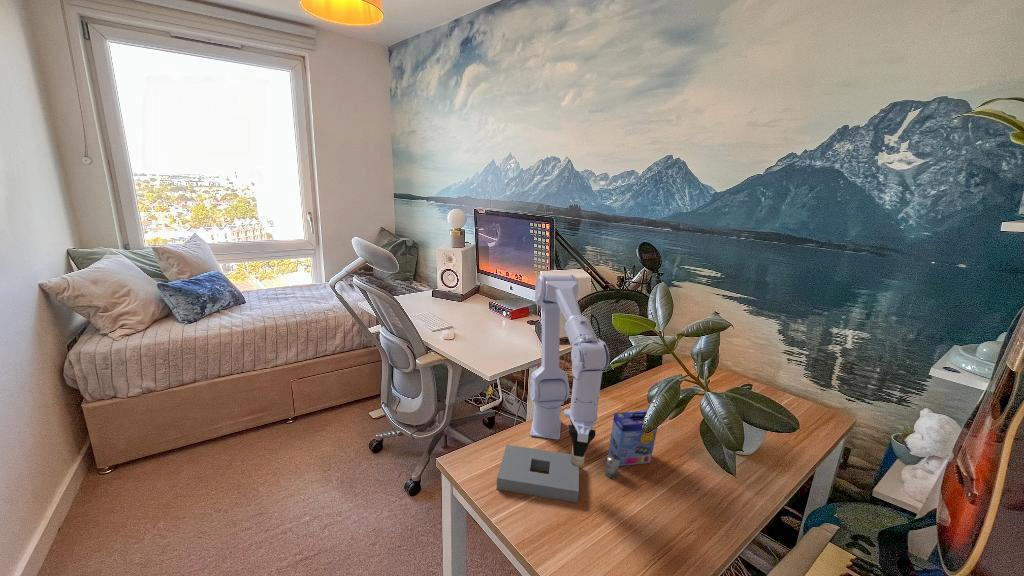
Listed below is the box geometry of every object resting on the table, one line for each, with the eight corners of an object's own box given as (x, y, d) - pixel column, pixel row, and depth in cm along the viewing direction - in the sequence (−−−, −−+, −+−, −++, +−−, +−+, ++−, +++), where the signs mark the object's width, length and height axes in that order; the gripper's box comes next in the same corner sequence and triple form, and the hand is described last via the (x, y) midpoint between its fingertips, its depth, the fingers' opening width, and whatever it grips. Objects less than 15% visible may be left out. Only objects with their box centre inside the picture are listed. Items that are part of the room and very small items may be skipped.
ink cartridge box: (616, 468, 101) (624, 416, 97) (606, 453, 106) (613, 403, 103) (652, 463, 104) (661, 413, 100) (641, 449, 109) (649, 401, 105)
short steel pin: (604, 469, 101) (606, 453, 100) (617, 470, 100) (619, 455, 99) (605, 477, 98) (607, 461, 97) (618, 479, 97) (620, 463, 96)
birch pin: (571, 456, 94) (574, 426, 92) (584, 459, 93) (588, 428, 91) (570, 465, 91) (573, 434, 89) (583, 468, 90) (587, 436, 88)
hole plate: (505, 454, 104) (506, 444, 103) (577, 466, 101) (579, 455, 100) (496, 489, 92) (497, 477, 91) (577, 502, 90) (578, 491, 89)
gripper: (567, 377, 95) (561, 428, 99) (565, 411, 81) (559, 469, 85) (598, 381, 94) (591, 432, 98) (601, 416, 80) (593, 474, 84)
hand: (578, 450), depth 91 cm, fingers closed on birch pin, 3 cm apart
